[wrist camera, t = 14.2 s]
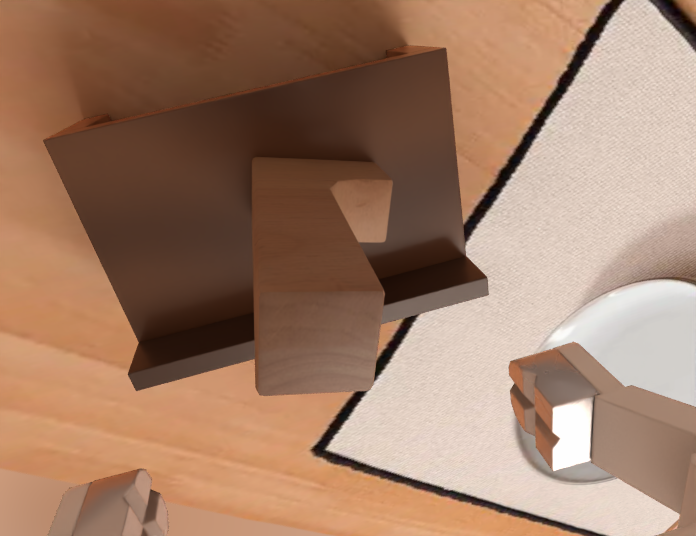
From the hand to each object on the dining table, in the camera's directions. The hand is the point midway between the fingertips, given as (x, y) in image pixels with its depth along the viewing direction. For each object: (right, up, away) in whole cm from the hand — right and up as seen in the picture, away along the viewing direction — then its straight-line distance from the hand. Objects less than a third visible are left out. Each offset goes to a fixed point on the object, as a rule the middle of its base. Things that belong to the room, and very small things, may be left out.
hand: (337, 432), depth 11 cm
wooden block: (-2, +8, +16) cm, 18 cm away
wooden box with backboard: (-4, +9, +22) cm, 24 cm away
